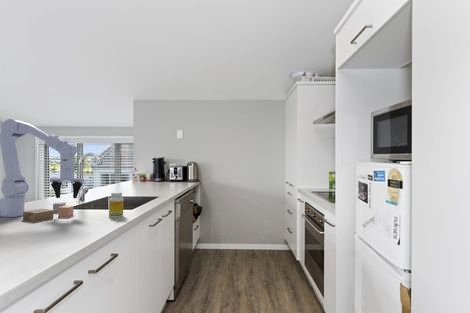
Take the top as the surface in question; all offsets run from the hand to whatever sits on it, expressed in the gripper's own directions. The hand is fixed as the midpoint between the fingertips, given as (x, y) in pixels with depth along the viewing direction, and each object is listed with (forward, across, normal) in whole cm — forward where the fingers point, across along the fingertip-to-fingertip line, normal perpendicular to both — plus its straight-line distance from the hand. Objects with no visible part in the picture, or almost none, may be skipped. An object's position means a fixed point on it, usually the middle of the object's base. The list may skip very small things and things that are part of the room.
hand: (66, 198), depth 132 cm
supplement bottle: (+9, +23, 0) cm, 24 cm away
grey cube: (+8, -9, +11) cm, 16 cm away
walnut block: (+9, -8, -7) cm, 14 cm away
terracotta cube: (+8, 0, 0) cm, 9 cm away
